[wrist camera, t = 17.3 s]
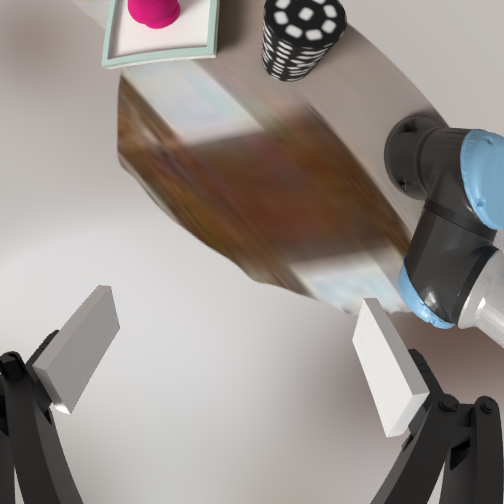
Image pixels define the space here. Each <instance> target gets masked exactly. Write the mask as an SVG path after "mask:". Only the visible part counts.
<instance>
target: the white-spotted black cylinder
mask: <svg viewBox="0 0 504 504" xmlns="http://www.w3.org/2000/svg"><path fill="white" fill-rule="evenodd" d="M346 25H347V17H346V14H345V10H344V8H343V6H342V4H341V3H340V2H339V1H338V0H266V2H265V6H264V18H263V38H262V64H263V66H264V68H265V70H266V71H267V72H268V73H269V74H270V75H271V76H272V77H274V78H276V79H278V80H281V81H287V82H291V81H297V80H300V79H302V78H304V77H305V76H306V75H307V74H308V73H309V72H310V71H311V70H312V68H313V67H314V66H315V65H316V64H317V63H318V62H319V61H320V59H321V58H322V57H323V56H324V55H325V54H326V53H327V52H328V51H329V50H330V48H331V47H332V46H333V45H334V44H335V43H336V42H337V41H338V40H339V39H340V37H341V36H342V35H343V33H344V31H345V29H346Z"/></svg>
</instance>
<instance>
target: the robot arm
mask: <svg viewBox="0 0 504 504" xmlns="http://www.w3.org/2000/svg"><path fill="white" fill-rule="evenodd" d="M384 161H385V167H386V171H387V173H388V176H389V178H390V180H391V181H392V183H393V184H394V186H395V187H396V188H397V189H398V190H399V191H401V192H402V193H403V194H405V195H407V196H409V197H411V198H414V199H417V200H426V201H425V204H424V207H423V210H422V213H421V216H420V219H419V221H418V224H417V227H416V230H415V233H414V235H413V238H412V241H411V243H410V246H409V249H408V251H407V253H406V254H405V256H404V258H403V265H402V267H401V270H400V273H399V275H398V280H397V283H398V290H399V293H400V295H401V297H402V299H403V300H404V302H405V303H406V304H407V306H408V307H409V308H410V309H411V310H412V311H413V312H414V313H415V314H416V315H417V316H419V317H420V318H421V319H423V320H424V321H426V322H431V323H432V324H433V325H434V326H436V327H438V328H446V329H447V328H450V327H452V326H453V325H455V324H456V325H457V326H458V327H460V328H461V329H464V328H468V327H472V326H477V327H478V328H480V329H481V330H482V331H483V332H485V333H486V334H487V335H488V336H490V337H491V338H492V339H493V340H495V341H496V342H497V343H498V344H499V345H501V346H502V347H503V348H504V254H503V252H502V251H501V250H499V249H498V248H496V247H494V246H493V241H494V238H495V236H496V233H497V230H498V229H504V137H502V136H500V135H498V134H495V133H490V132H487V131H485V130H481V129H461V128H446V127H445V126H443V125H442V124H440V123H439V122H437V121H436V120H434V119H431V118H428V117H409V118H406V119H404V120H402V121H400V122H399V123H398V124H396V125H395V126H394V128H393V129H392V130H391V132H390V134H389V136H388V138H387V141H386V144H385V150H384ZM119 329H120V326H119V322H118V318H117V314H116V309H115V304H114V300H113V295H112V290H111V287H110V286H101V285H99V286H98V287H97V288H96V289H95V290H94V291H93V292H92V293H91V295H90V296H89V297H88V298H87V299H86V300H85V301H84V302H83V304H82V305H81V306H80V307H79V308H78V309H77V311H76V312H75V313H74V314H73V315H72V316H71V318H70V319H69V320H68V321H67V322H66V324H65V325H64V326H63V327H62V329H61V330H55V331H54V332H52V333H51V334H49V335H48V336H47V338H46V339H45V340H44V341H43V343H42V344H41V345H40V346H39V349H37V350H36V351H35V352H34V354H33V355H32V356H31V357H30V359H29V360H28V361H27V363H26V364H24V362H23V360H22V358H21V356H20V354H19V353H17V352H14V351H11V352H7V353H4V354H3V355H2V356H0V373H1V374H0V504H15V487H14V486H15V485H14V465H15V469H16V474H17V478H18V483H19V486H20V490H21V493H22V497H23V501H24V504H83V502H82V499H81V497H80V495H79V492H78V490H77V488H76V485H75V483H74V480H73V478H72V475H71V473H70V470H69V467H68V464H67V462H66V459H65V456H64V453H63V450H62V447H61V444H60V441H59V437H58V434H57V430H56V427H55V423H54V419H53V415H52V412H51V410H50V408H49V406H50V404H51V403H52V402H53V404H54V406H55V407H56V408H57V410H58V411H61V412H64V413H67V414H71V413H72V411H73V409H74V407H75V405H76V403H77V401H78V399H79V398H80V396H81V394H82V392H83V391H84V389H85V387H86V385H87V383H88V382H89V379H90V378H91V376H92V374H93V373H94V371H95V369H96V367H97V366H98V364H99V362H100V360H101V359H102V357H103V355H104V354H105V352H106V350H107V348H108V347H109V345H110V344H111V342H112V340H113V339H114V337H115V335H116V334H117V332H118V330H119ZM352 341H353V343H354V346H355V348H356V351H357V354H358V356H359V359H360V362H361V364H362V367H363V370H364V373H365V375H366V378H367V381H368V384H369V386H370V389H371V392H372V395H373V398H374V401H375V404H376V407H377V410H378V412H379V415H380V418H381V421H382V425H383V428H384V430H385V434H386V437H391V436H397V435H402V434H403V433H404V432H405V430H406V429H407V427H409V430H410V432H411V434H410V435H409V437H408V438H407V439H406V440H405V442H404V443H403V444H402V447H403V448H402V450H401V452H400V454H399V456H398V458H397V460H396V462H395V463H394V465H393V467H392V469H391V471H390V472H389V474H388V476H387V478H386V479H385V481H384V483H383V484H382V486H381V488H380V489H379V491H378V493H377V494H376V496H375V497H374V499H373V500H372V502H371V503H370V504H427V502H428V500H429V498H430V496H431V494H432V491H433V489H434V487H435V484H436V482H437V480H438V477H439V474H440V472H441V469H442V467H443V464H444V462H445V466H444V475H443V482H442V489H441V495H440V501H439V504H503V492H504V459H503V441H502V429H501V420H500V412H499V407H498V404H497V403H496V401H495V400H494V399H492V398H491V397H488V396H481V397H479V398H478V399H477V400H476V402H475V403H474V404H460V403H459V401H458V400H457V399H456V398H455V397H453V396H452V395H450V394H444V392H443V391H442V389H441V387H440V385H439V383H438V382H437V380H436V378H435V376H434V374H433V373H432V371H431V369H430V367H429V366H428V365H427V362H426V361H425V359H424V357H423V356H422V355H421V354H420V353H419V352H418V351H417V350H415V349H409V350H407V349H406V347H405V345H404V343H403V342H402V340H401V338H400V336H399V335H398V333H397V331H396V329H395V328H394V326H393V324H392V323H391V321H390V319H389V318H388V316H387V314H386V313H385V311H384V309H383V308H382V306H381V304H380V303H379V301H378V300H377V298H363V302H362V306H361V310H360V314H359V318H358V322H357V325H356V329H355V333H354V336H353V340H352Z"/></svg>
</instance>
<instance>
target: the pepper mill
mask: <svg viewBox="0 0 504 504" xmlns="http://www.w3.org/2000/svg"><path fill="white" fill-rule="evenodd" d="M127 6H128V11H129V14H130V15H131V17H132V18H133V19H134V20H135V21H136V22H138V23H141V24H145V25H146V26H147V27H149V28H152V29H161V28H165V27H167V26H169V25H170V24H172V23H173V22H174V21H175V20H176V19H177V18H178V16H179V14H180V5H179V3H178V1H177V0H128V5H127Z"/></svg>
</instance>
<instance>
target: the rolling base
mask: <svg viewBox="0 0 504 504" xmlns="http://www.w3.org/2000/svg"><path fill="white" fill-rule="evenodd" d="M177 1H178V3H179V5H180V14H179V16H178V18H177V19H176V20H175V21H174V22H173V23H172V24H170V25H169V26H167V27H165V28H161V29H152V28H149V27H147V26H146V25H145V24H141V23H138V22H136V21H135V20H134V19H133V18H132V17H131V15H130V14H129V11H128V6H127V5H128V0H110V6H109V11H108V17H107V24H106V31H105V38H104V47H103V56H102V67H105V68H108V69H114V68H120V67H125V66H131V65H138V64H145V63H152V62H161V61H170V60H182V59H197V58H216V50H217V34H218V20H219V7H220V0H177Z"/></svg>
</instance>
